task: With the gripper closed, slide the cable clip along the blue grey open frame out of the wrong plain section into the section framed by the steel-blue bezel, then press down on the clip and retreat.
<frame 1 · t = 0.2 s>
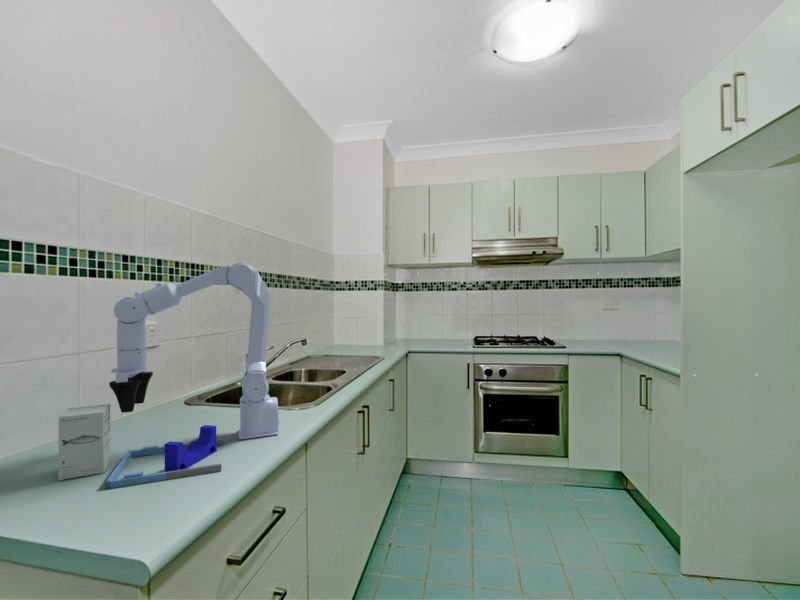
hand: (133, 407, 92), 10 cm above the counter, fingers open, 7 cm apart
blue grey open frame: (172, 463, 84), on the counter
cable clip: (189, 462, 86), on the counter
supplement box: (86, 471, 81), on the counter
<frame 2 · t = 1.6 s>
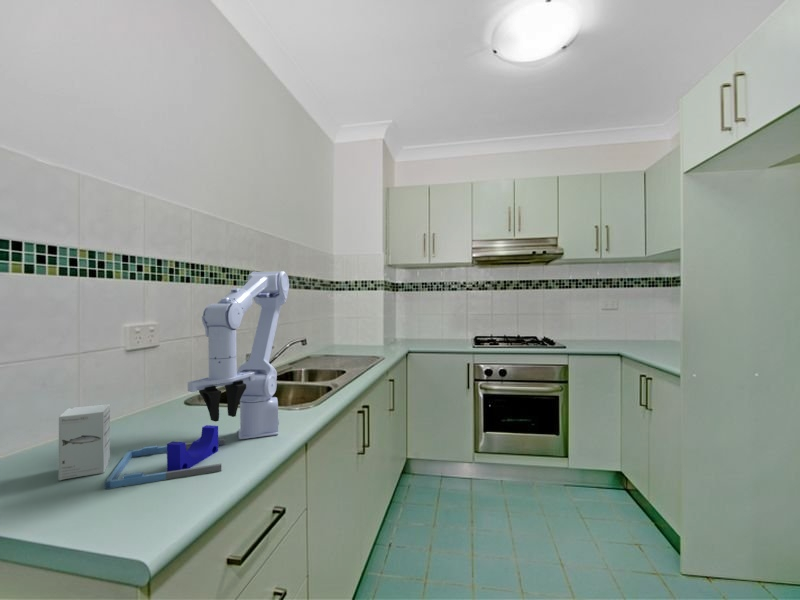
hand: (223, 418, 88), 8 cm above the counter, fingers open, 3 cm apart
nothing on the counter moved.
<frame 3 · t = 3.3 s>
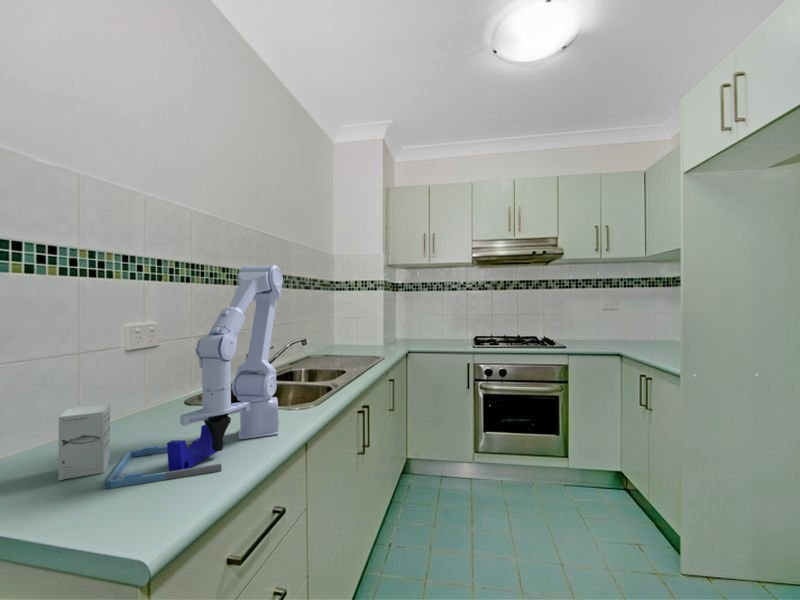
hand: (217, 450, 87), 2 cm above the counter, fingers closed, pressing on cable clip
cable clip: (192, 461, 86), on the counter, touching gripper
everything else where it was.
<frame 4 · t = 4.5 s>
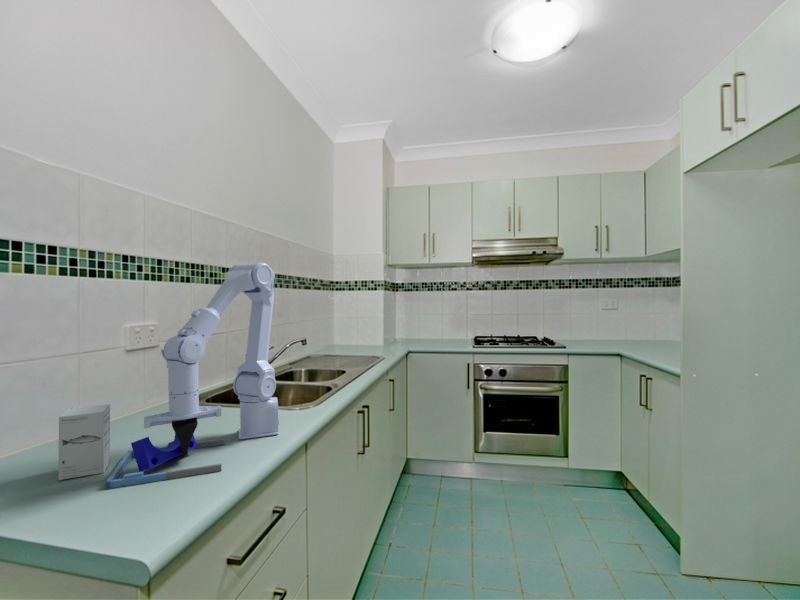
hand: (184, 454, 85), 1 cm above the counter, fingers closed, pressing on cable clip
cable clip: (167, 460, 85), point 1 cm above the counter, touching gripper
everything else where it was.
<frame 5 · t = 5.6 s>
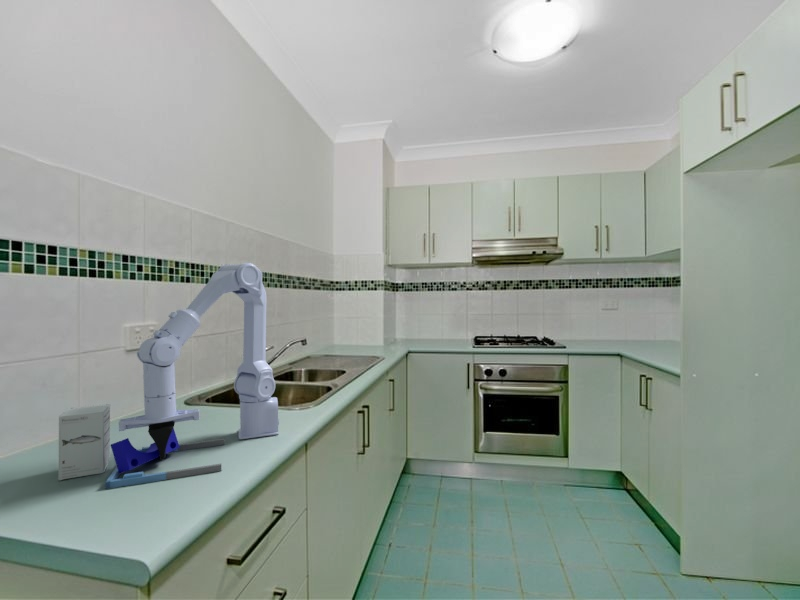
hand: (162, 458, 84), 1 cm above the counter, fingers closed, pressing on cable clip
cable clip: (149, 461, 84), point 1 cm above the counter, touching blue grey open frame, gripper
everything else where it was.
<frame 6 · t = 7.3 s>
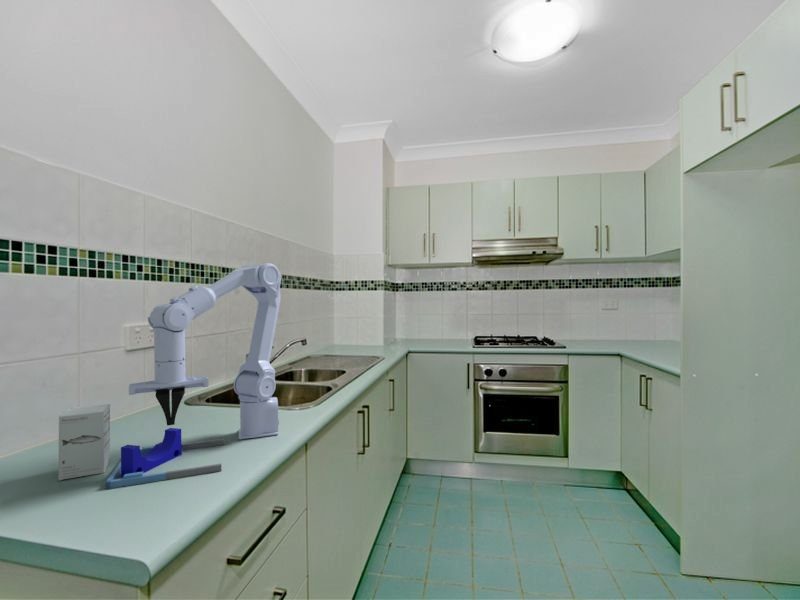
hand: (170, 423, 84), 8 cm above the counter, fingers closed
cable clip: (150, 466, 84), on the counter
everything else where it was.
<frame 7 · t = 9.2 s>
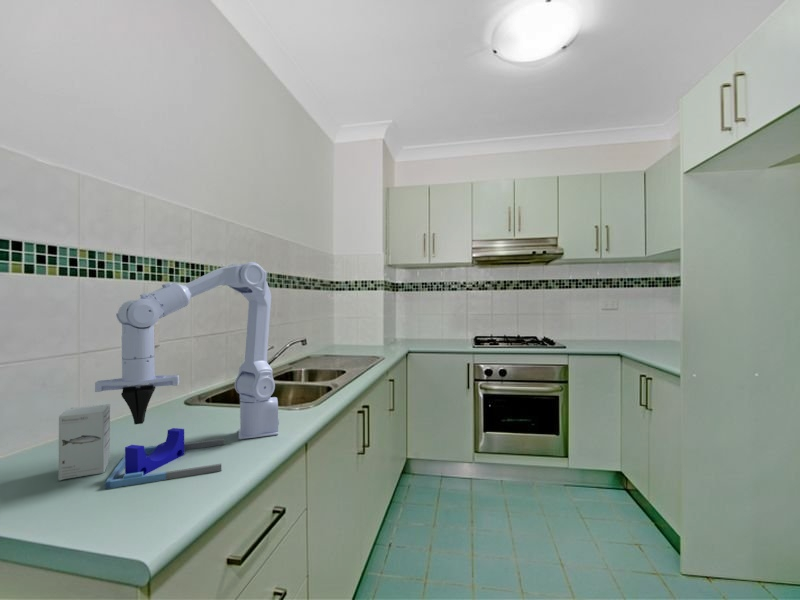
hand: (139, 422, 82), 9 cm above the counter, fingers closed
nothing on the counter moved.
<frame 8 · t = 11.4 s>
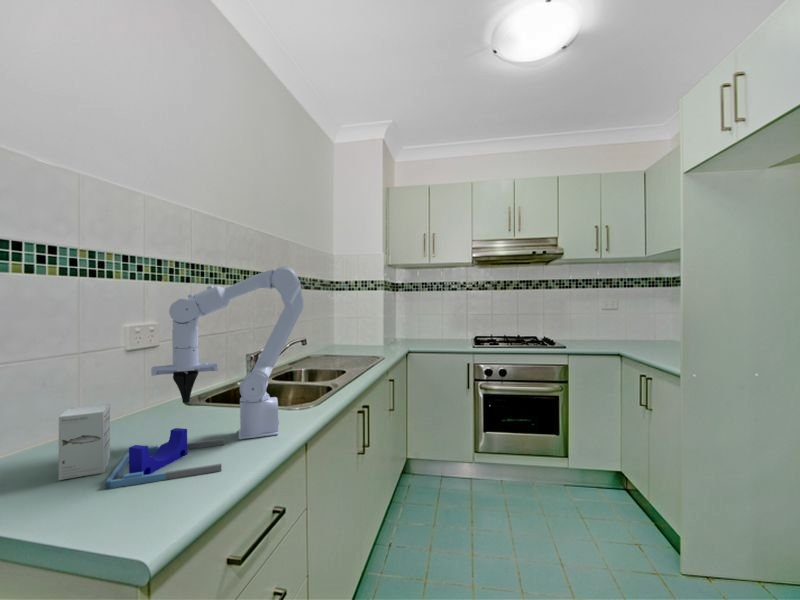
hand: (186, 401, 99), 9 cm above the counter, fingers closed
at the end: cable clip inside the target area on the blue grey open frame (2.9 cm from its centre), point 0.0 cm above the blue grey open frame's base; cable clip tilted 0°; the gripper is holding nothing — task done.
